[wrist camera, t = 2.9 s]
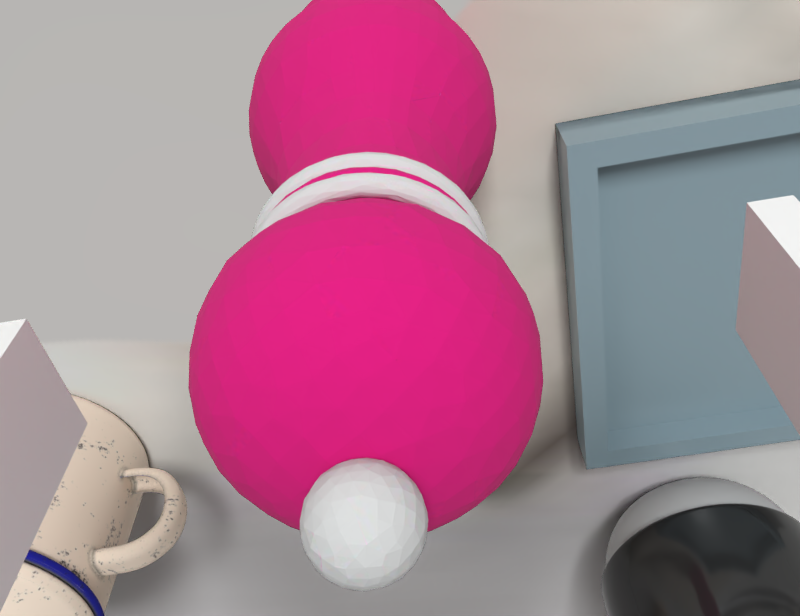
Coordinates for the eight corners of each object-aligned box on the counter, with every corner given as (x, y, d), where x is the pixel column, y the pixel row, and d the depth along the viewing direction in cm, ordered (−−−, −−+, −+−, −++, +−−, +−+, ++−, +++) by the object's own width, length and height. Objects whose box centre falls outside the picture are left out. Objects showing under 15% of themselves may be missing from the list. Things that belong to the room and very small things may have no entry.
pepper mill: (520, 87, 27) (743, 596, 10) (362, 205, 29) (338, 764, 13) (388, -93, 23) (407, 232, 7) (223, 58, 26) (-50, 557, 9)
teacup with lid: (19, 528, 40) (-96, 770, 30) (-83, 401, 34) (-261, 644, 25) (239, 490, 38) (192, 730, 29) (168, 352, 33) (81, 588, 23)
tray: (577, 438, 36) (586, 469, 35) (555, 123, 27) (566, 146, 26) (927, 387, 35) (954, 417, 33) (1027, 38, 26) (1071, 56, 24)
